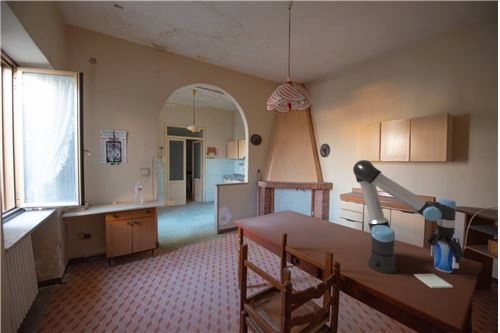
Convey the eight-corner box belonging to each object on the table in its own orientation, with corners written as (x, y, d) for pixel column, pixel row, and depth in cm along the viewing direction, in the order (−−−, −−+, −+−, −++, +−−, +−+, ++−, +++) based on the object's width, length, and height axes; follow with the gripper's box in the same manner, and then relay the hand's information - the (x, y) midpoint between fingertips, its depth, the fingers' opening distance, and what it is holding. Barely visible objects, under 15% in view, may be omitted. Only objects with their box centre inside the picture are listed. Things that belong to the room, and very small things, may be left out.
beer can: (433, 264, 128) (434, 238, 127) (452, 269, 123) (454, 242, 122) (434, 270, 121) (435, 243, 120) (454, 275, 116) (455, 247, 115)
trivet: (431, 288, 105) (431, 286, 105) (413, 275, 116) (413, 274, 116) (452, 287, 105) (452, 286, 105) (433, 275, 116) (433, 273, 116)
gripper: (475, 234, 108) (473, 273, 109) (432, 219, 133) (431, 251, 134) (461, 234, 108) (459, 273, 109) (421, 219, 133) (419, 251, 134)
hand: (443, 261), depth 122 cm, fingers open, 13 cm apart
